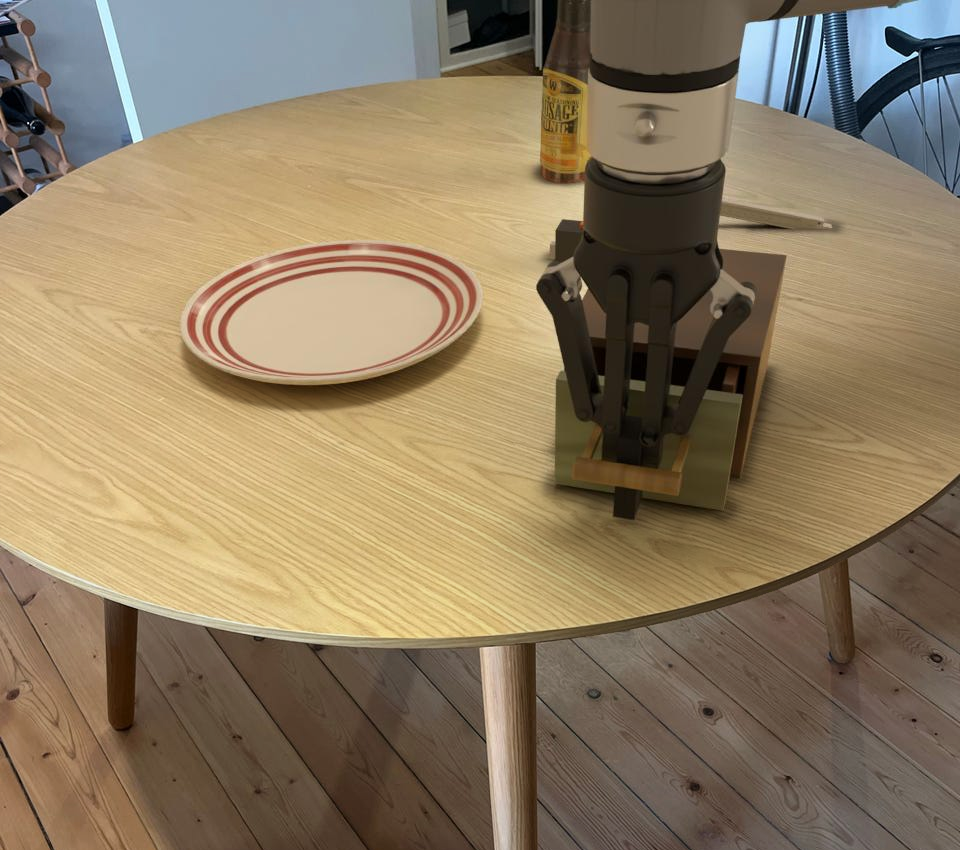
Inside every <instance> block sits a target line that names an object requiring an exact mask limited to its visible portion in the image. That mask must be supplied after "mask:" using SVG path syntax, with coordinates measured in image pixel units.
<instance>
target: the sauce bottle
mask: <svg viewBox="0 0 960 850" xmlns="http://www.w3.org/2000/svg"><path fill="white" fill-rule="evenodd" d="M556 9H557V11H556V12H557V13H556V14H557V15H556V21H555V28H554V32H553V35H552V38H551V42H550V46H549V49H548V53H547V55H546V58H545V63H544V65H543V68H542V92H541V93H542V94H541V116H540V122H541V123H540V152H539V163H540V175H541V176H542V177H543V178H544V179H545V180H547V181H549V182H552V183H560V184H572V183H579V182H584V181H585V166H586V164H587V162H588V161H589V160H590V159H591V157H592V156H591V155H590V153H589V152H588V151H587V147H586V124H587V92H588V70H589V55H590V37H591V0H557V8H556Z"/></svg>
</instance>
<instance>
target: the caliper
mask: <svg viewBox="0 0 960 850" xmlns="http://www.w3.org/2000/svg"><path fill="white" fill-rule="evenodd" d="M720 217H726V218H730V219H731V218H732V219H737V220H742V221H747V222H752V223H758V224H761V225H768V226H772V227H776V228H783V229H785V230H833V226H832V223H828V222H825V220H824V216H818V215H813V214H809V213H803V212H799V211H793V210H788V209H784V208H777V207H773V206H768V205H763V204H758V203H753V202H747V201H743V200H737V199H731V198H726V197H722V203H721V211H720Z"/></svg>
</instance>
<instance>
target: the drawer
mask: <svg viewBox="0 0 960 850" xmlns="http://www.w3.org/2000/svg"><path fill="white" fill-rule="evenodd" d="M592 349H593V354H594V359H595V364H596V368H597V373H598V378H599V383H600V387H601V392H602V395H604V377H605V359H606V348H601V347H593V346H592ZM647 358H648V353H641V352H633V351H632V364H631V377H630V390H629V402H630V405H629V408H628V410H627V413H626V417H627V415H630V416H636V417H643V407H644V394H645V382H646V370H647ZM695 361H696V359H689V358H681V357H673V363H672V373H671V383H670V392H669V402H668V406H670V405H676V404H678V402H679V400H680V397H681V395H682V393H683V390H684V388H685V385H686V383H687V380H688V378H689V375H690V373H691V371H692V368H693V366H694V363H695ZM746 371H747V366H745V365H737V364H729V363H721V362H718V364H717V366H716V368H715V371H714V373H713V375H712V378H711V380H710V382H709V385H708V387H707V389H706V392H705V394H704V396H703V399H702V401H701V403H700V406H699V408H698V410H697V413H696V415H695V417H694V420H693V422H692V424H691V427H690V429H689V431H688V433H687V434H685V435H682V436H679V435H676V434H674V433H669V434H666V435H664V440H663V450H662V459H661V462H660V465H659V468H658V469H655V468H648V467H642V466H635V465H628V464H622V463H615V462H609V461H602V460H601V458H602V440H603V431H602V428H601V427H600V426H599V425H598V424H597V423H595V422H593V421H591V420H590V421H588V422H582V421H580V420H579V419H578V418H577V417H576V415H575V411H574V407H573V403H572V398H571V394H570V390H569V385H568V381H567V377H566V373H565V371H564V370H559V372H558V374H557V376H556V378H555V411H554V412H555V415H554V416H555V418H554V419H555V421H554V423H555V424H554V425H555V426H554V484H555V485H560V486H561V485H562V486H567V487H572V488H573V487H574V488H580V489H584V490H585V489H586V490H591V491H597V492H605V493H610V494H614V493H615V486H619V487H625V488H631V489H638V490H643V494H642V499H647V500H648V499H649V500H653V501H661V502H667V503H673V504H679V505H686V506H693V507H698V508H705V509H711V510H718V511H724V509H725V505H726V502H727V496H728V490H729V484H730V478H731V477H730V471H731V465H732V459H733V453H734V447H735V441H736V435H737V428H738V422H739V416H740V410H741V404H742V398H743V390H744V384H745V377H746Z"/></svg>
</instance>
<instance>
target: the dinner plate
mask: <svg viewBox="0 0 960 850" xmlns="http://www.w3.org/2000/svg"><path fill="white" fill-rule="evenodd" d="M483 291H484V290H483V287H482V284H481V282H480V280H479V278H478V276H477V275H476V274H475V272H473V270H471V269H470V267H468V266H467V265H466V264H465V263H463V262H462V261H460V260H458V259H456V258H455V257H452V256H451V255H448V254H446V253H443V252H442V251H439V250H435V249H432V248H428V247H425V246H422V245H417V244H412V243H407V242H400V241H392V240H383V239H382V240H381V239H346V240H345V239H344V240H331V241H321V242H316V243H315V242H314V243H307V244H302V245H297V246H292V247H288V248H284V249H280V250H276V251H273V252H269V253H267V254H263V255H261V256H257V257H254V258H251V259H248V260H246V261H243V262H241V263H239V264H236V265H235V266H233V267H230V268H228V269H226V270H224V271H223V272H221V273H219V274H218V275H216V276H214V277H212V278H211V279H210V280H208V281H207V282H205V283H204V284H203V285H202V286H200V287H199V289H197V290H196V291H195V292H194V293H193V294H192V296H191V297H190V298H189V299H188V300H187V302H186V304H185V305H184V307H183V309H182V312H181V316H180V317H179V331H180V332H179V333H180V335H181V338H182V341H183V342H184V344H185V346H186V347H187V349H188V350H189V351H190V352H191V353H192V354H193V355H194V356H195V357H196V358H198V359H200V360H201V361H202V362H204V363H206V364H207V365H209V366H211V367H213V368H215V369H217V370H220V371H222V372H225V373H226V374H231V375H233V376H237V377H239V378H244V379H248V380H252V381H257V382H263V383H269V384H280V385H291V386H292V385H294V386H324V385H338V384H345V383H351V382H352V383H353V382H359V381H363V380H368V379H374V378H378V377H380V376H384V375H388V374H391V373H394V372H397V371H401V370H404V369H405V368H408V367H411V366H414V365H416V364H418V363H420V362H422V361H425V360H426V359H428V358H430V357H433V356H434V355H436V354H438V353H439V352H441V351H442V350H444V349H445V348H447V347H448V346H450V345H451V344H453V343H454V342H456V340H458V339H459V338H460V337H461V336H463V335H464V334H465V333H466V332H467V330H468V329H469V328H470V327H471V326H472V325H473V324H474V322H475V321H476V319H478V316H479V314H480V311H481V309H482V306H483V301H484V292H483Z"/></svg>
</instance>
